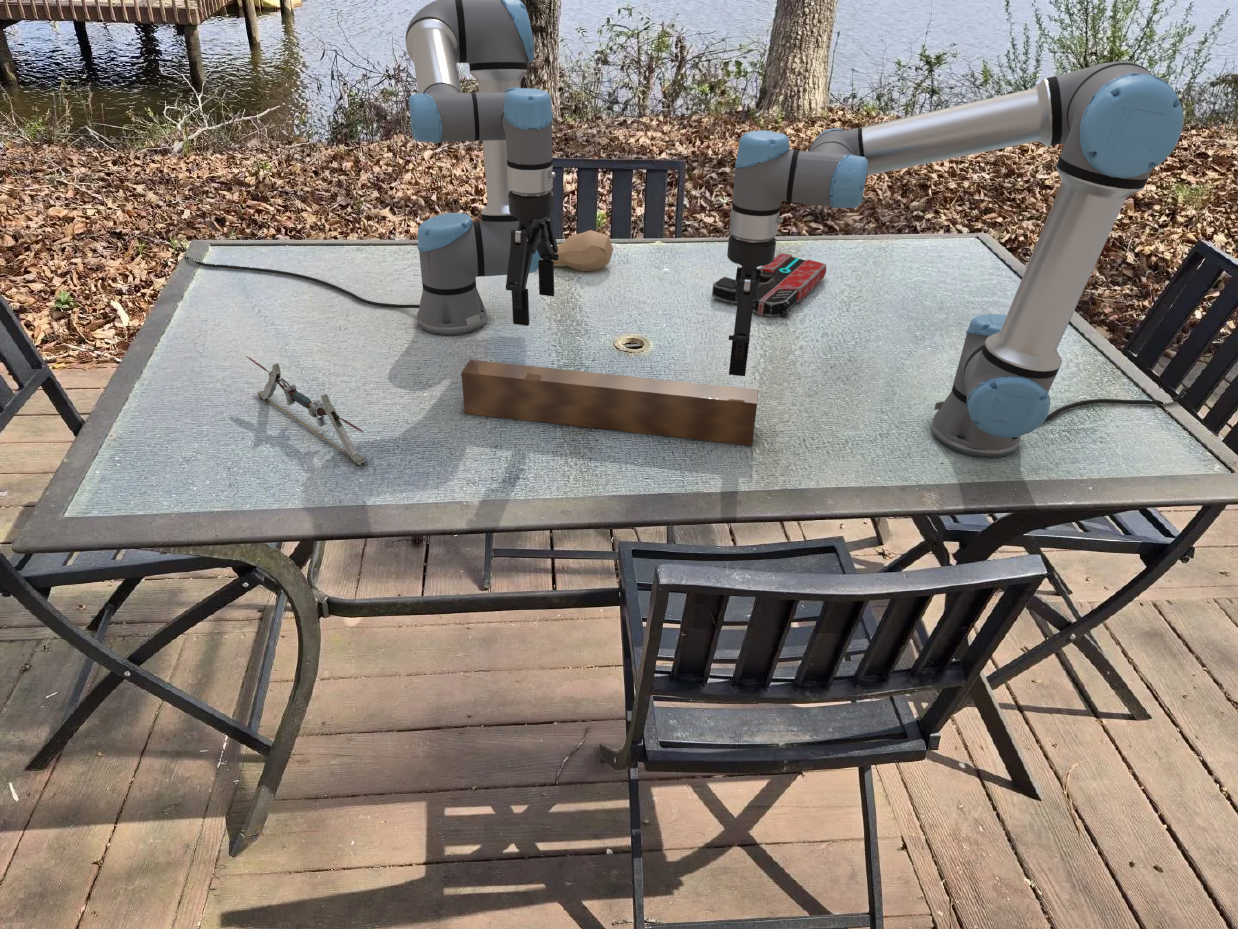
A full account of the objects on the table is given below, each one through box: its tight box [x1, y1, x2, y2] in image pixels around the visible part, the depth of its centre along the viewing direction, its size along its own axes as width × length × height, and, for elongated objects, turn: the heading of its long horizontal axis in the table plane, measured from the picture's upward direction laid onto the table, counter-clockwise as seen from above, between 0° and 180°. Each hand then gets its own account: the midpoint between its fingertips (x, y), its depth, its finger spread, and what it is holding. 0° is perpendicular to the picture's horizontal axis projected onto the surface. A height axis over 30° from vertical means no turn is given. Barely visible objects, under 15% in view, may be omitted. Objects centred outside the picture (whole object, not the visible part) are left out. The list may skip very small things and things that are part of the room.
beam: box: [460, 359, 759, 447], centre depth 160 cm, size 54×5×9 cm, turn 80°
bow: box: [245, 355, 367, 466], centre depth 155 cm, size 39×2×10 cm, turn 47°
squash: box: [542, 229, 614, 272], centre depth 224 cm, size 11×20×9 cm, turn 90°
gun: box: [711, 252, 827, 318], centre depth 215 cm, size 4×31×19 cm
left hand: (534, 309), depth 158 cm, fingers open, 13 cm apart
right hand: (739, 356), depth 150 cm, fingers open, 13 cm apart
